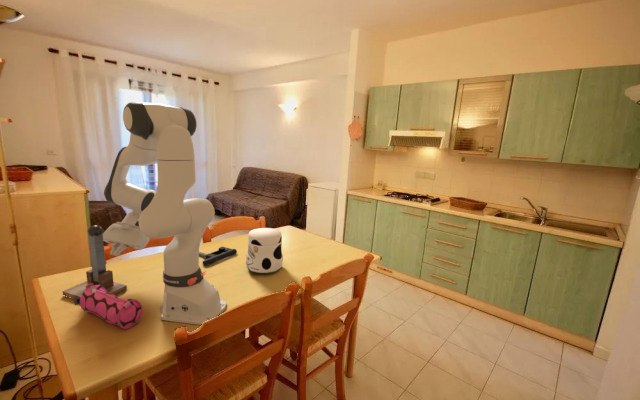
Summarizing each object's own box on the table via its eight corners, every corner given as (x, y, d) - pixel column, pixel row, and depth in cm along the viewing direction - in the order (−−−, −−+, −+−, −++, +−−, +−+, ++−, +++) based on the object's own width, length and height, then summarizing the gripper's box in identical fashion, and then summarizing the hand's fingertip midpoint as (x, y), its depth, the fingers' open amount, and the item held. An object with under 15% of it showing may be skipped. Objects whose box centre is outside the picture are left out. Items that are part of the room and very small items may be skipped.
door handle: (186, 254, 142) (207, 261, 135) (218, 243, 159) (239, 249, 152) (186, 261, 143) (208, 268, 135) (218, 249, 160) (239, 255, 152)
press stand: (126, 289, 112) (125, 271, 110) (95, 306, 101) (92, 285, 99) (96, 281, 117) (94, 263, 115) (63, 296, 105) (60, 276, 104)
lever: (110, 278, 111) (105, 224, 107) (98, 283, 107) (92, 228, 102) (101, 276, 112) (96, 223, 108) (89, 281, 108) (83, 226, 104)
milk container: (237, 270, 134) (238, 233, 130) (261, 258, 149) (262, 225, 145) (267, 280, 126) (268, 242, 123) (289, 266, 141) (291, 231, 138)
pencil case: (74, 317, 95) (71, 289, 93) (105, 302, 103) (103, 277, 101) (119, 336, 87) (116, 307, 85) (148, 319, 96) (146, 292, 94)
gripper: (109, 217, 121) (87, 247, 114) (147, 224, 115) (127, 256, 108) (120, 224, 126) (100, 253, 119) (157, 232, 120) (138, 262, 113)
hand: (113, 254), depth 113 cm, fingers closed
